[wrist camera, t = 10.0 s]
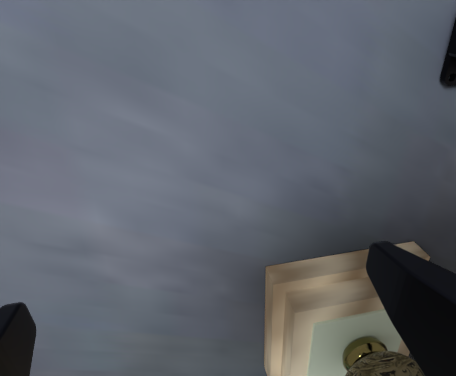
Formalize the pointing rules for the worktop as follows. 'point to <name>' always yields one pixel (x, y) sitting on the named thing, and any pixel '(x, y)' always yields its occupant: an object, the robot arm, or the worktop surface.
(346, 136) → the worktop surface
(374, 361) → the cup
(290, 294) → the oak plinth
